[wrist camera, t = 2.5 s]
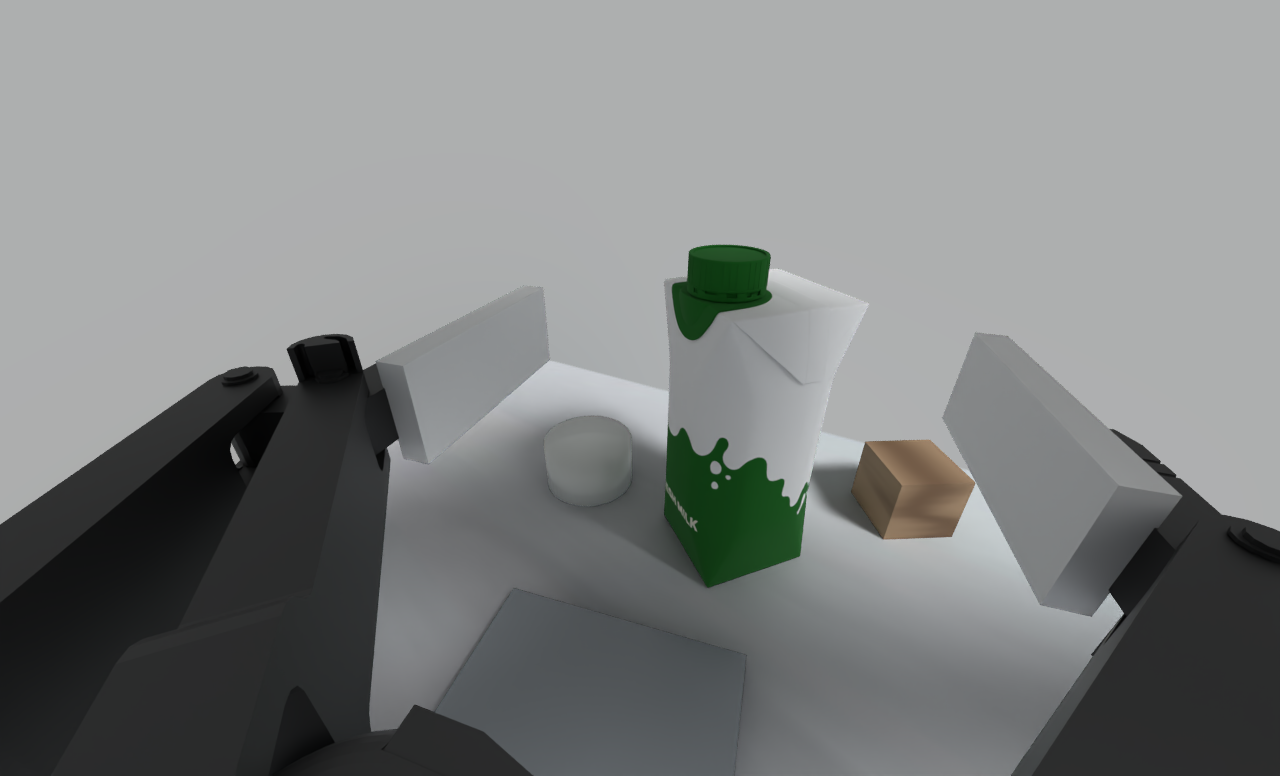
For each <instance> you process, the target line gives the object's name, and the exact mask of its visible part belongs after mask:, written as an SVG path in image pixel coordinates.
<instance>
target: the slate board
mask: <svg viewBox="0 0 1280 776" xmlns="http://www.w3.org/2000/svg"><path fill="white" fill-rule="evenodd" d="M746 657H747V655H745V654H742V653H738V652H735V651H731V650H728V649H724V648H721V647H717V646H714V645H710V644H707V643H703V642H700V641H696V640H693V639H689V638H686V637H683V636H679V635H676V634H672V633H669V632H665V631H662V630H658V629H655V628H651V627H648V626H644V625H641V624H637V623H634V622H630V621H627V620H623V619H620V618H616V617H613V616H609V615H606V614H603V613H599V612H596V611H592V610H589V609H585V608H582V607H578V606H575V605H571V604H568V603H564V602H561V601H557V600H554V599H550V598H547V597H543V596H540V595H536V594H533V593H529V592H526V591H523V590H519V589H516V588H514V589H513V590H512V592H511V593H510V595H509V596H508V598H507V600H506V601H505V603H504V604H503V606H502V607H501V609H500V611H499V612H498V614H497V615H496V617H495V618H494V620H493V621H492V623H491V625H490V626H489V628H488V629H487V631H486V632H485V634H484V636H483V637H482V639H481V640H480V642H479V643H478V645H477V647H476V648H475V650H474V651H473V653H472V654H471V656H470V657H469V659H468V661H467V662H466V664H465V665H464V667H463V668H462V670H461V672H460V673H459V675H458V676H457V678H456V679H455V681H454V683H453V684H452V686H451V687H450V689H449V690H448V692H447V693H446V695H445V697H444V698H443V700H442V701H441V703H440V704H439V706H438V708H437V709H436V711H435V713H438V714H440V715H443V716H445V717H448V718H450V719H453V720H456V721H458V722H461V723H463V724H466V725H468V726H471V727H473V728H476V729H478V730H481V731H483V732H485V733H486V734H487V735H488V736H489V737H490V738H491V739H493V740H494V741H495V742H496V743H497V744H498V745H499V746H500V747H502V748H503V749H504V750H505V751H506V752H507V753H508V754H509V755H511V756H512V757H513V758H514V759H515V760H516V761H517V762H518V763H520V764H521V765H522V766H523V767H524V768H525V769H526V770H527V771H529V772H530V773H531V774H532V775H533V776H734V773H735V764H736V754H737V744H738V734H739V725H740V715H741V705H742V696H743V686H744V676H745V666H746Z"/></svg>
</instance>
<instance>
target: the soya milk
mask: <svg viewBox="0 0 1280 776" xmlns="http://www.w3.org/2000/svg"><path fill="white" fill-rule="evenodd" d="M770 259H771V257H770V254H769V253H768V252H767V251H765V250H761V249H758V248H754V247H748V246H738V245H708V246H701V247H696V248H693V249H691V250H690V251H689V261H688V276H687V277H678V278H671V279H666V280H665V281H664V286H665V299H666V310H667V324H668V337H669V351H670V378H669V408H668V437H667V465H666V486H665V507H664V515H665V516H666V518H667V520H668V522H669V523H670V525H671V527H672V528H673V530H674V532H675V533H676V535H677V537H678V539H679V540H680V542H681V544H682V545H683V547H684V549H685V550H686V552H687V554H688V556H689V557H690V559H691V561H692V562H693V564H694V566H695V567H696V569H697V571H698V573H699V574H700V576H701V578H702V579H703V581H704V583H705V585H706V586H707V588H709V587H712V586H714V585H717V584H720V583H723V582H726V581H729V580H732V579H735V578H738V577H741V576H744V575H747V574H750V573H753V572H755V571H758V570H761V569H764V568H767V567H770V566H773V565H776V564H779V563H782V562H785V561H788V560H791V559H793V558H796V557H799V556H800V551H801V542H802V533H803V524H804V516H805V507H806V498H807V491H808V487H809V482H810V478H811V473H812V469H813V464H814V460H815V456H816V451H817V447H818V442H819V438H820V434H821V429H822V425H823V421H824V416H825V411H826V407H827V403H828V399H829V394H830V390H831V386H832V382H833V378H834V376H835V373H836V371H837V369H838V366H839V364H840V362H841V360H842V358H843V356H844V354H845V352H846V350H847V348H848V346H849V344H850V342H851V340H852V338H853V336H854V334H855V332H856V330H857V328H858V326H859V324H860V322H861V320H862V318H863V316H864V313H865V311H866V310H867V307H868V306H869V303H867V302H865V301H862V300H859V299H857V298H854V297H851V296H849V295H846V294H844V293H841V292H838V291H836V290H833V289H830V288H828V287H825V286H823V285H820V284H817V283H815V282H812V281H809V280H807V279H804V278H802V277H799V276H797V275H794V274H791V273H789V272H786V271H783V270H781V269H769V266H770Z"/></svg>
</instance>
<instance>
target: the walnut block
mask: <svg viewBox="0 0 1280 776" xmlns="http://www.w3.org/2000/svg"><path fill="white" fill-rule="evenodd" d="M974 485H975V482H974V481H973V480H972V479H971V478H970V477H969V476H968V475H967V474H966V473H965V472H963V471H962V470H961V469H960V468H959V467H958V466H957V465H956V464H955V463H954V462H953V461H952V460H951V459H950V458H949V457H947V455H945V454H944V453H943V452H942V451H941V450H940V449H939V448H938V447H937V446H936V445H935V444H934V443H933V442H931V440H902V441H870V442H865V445H864V448H863V452H862V455H861V459H860V462H859V466H858V469H857V473H856V476H855V480H854V483H853V487H852V490H851V492H852V494H853V495H854V497H855V498H856V500H857V501H858V503H859V504H860V506H861V507H862V509H863V510H864V512H865V513H866V515H867V516H868V518H869V519H870V521H871V522H872V524H873V525H874V526H875V528H876V529H877V531H878V532H879V534H880V535H881V537H882V538H883V539H908V538H934V537H952V535H953V532H954V530H955V528H956V526H957V523H958V521H959V519H960V517H961V515H962V512H963V510H964V508H965V506H966V503H967V501H968V499H969V497H970V494H971V492H972V490H973V488H974Z"/></svg>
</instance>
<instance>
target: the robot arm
mask: <svg viewBox="0 0 1280 776" xmlns="http://www.w3.org/2000/svg"><path fill="white" fill-rule="evenodd" d="M545 313H546V312H545V301H544V290H543V288H542V287H533V286H522V287H520V288H518V289H516V290H514V291H512V292H510V293H508V294H506V295H504V296H502V297H500V298H498V299H496V300H494V301H492V302H490V303H488V304H487V305H485V306H483V307H481V308H479V309H477V310H475V311H473V312H471V313H469V314H467V315H465V316H463V317H461V318H459V319H457V320H456V321H453V322H451V323H449V324H447V325H445V326H444V327H442V328H440V329H438V330H436V331H434V332H432V333H430V334H428V335H426V336H424V337H422V338H420V339H418V340H416V341H414V342H412V343H410V344H408V345H407V346H405V347H402V348H401V349H399V350H397V351H395V352H393V353H391V354H389V355H387V356H385V357H383V358H381V359H379V360H377V361H376V364H374V365H372V366H370V367H368V368H366V369H365V370H363V369H362V366H361V363H360V360H359V356H358V353H357V350H356V346H355V343H354V340H353V337H351V336H348V335H342V334H331V335H321V336H315V337H311V338H307V339H304V340H301V341H298V342H296V343H294V344H292V345H291V346H290V347H288V348H287V351H288V354H289V356H290V359H291V362H292V364H293V367H294V369H295V372H296V375H297V377H298V380H299V383H298V385H297V386H280V384H279V381H278V379H277V376H276V374H275V372H274V370H273V369H272V368H269V367H239V368H235V369H231V370H229V371H227V372H226V373H224V374H221V375H218V376H216V377H214V378H212V379H210V380H209V381H207V382H206V383H204V384H203V385H201V386H200V387H198V388H197V389H196V390H194V391H193V392H191V393H190V394H188V395H187V396H186V397H184V398H183V399H181V400H180V401H178V402H177V403H175V404H174V405H173V406H171V407H170V408H168V409H167V410H165V411H164V412H162V413H161V414H159V415H158V416H157V417H155V418H154V419H152V420H151V421H149V422H148V423H146V424H145V425H144V426H142V427H141V428H139V429H138V430H136V431H135V432H134V433H132V434H131V435H129V436H128V437H126V438H125V439H123V440H122V441H121V442H119V443H118V444H116V445H115V446H113V447H112V448H110V449H109V450H107V451H106V452H104V453H103V454H102V455H100V456H99V457H97V458H96V459H95V460H93V461H92V462H90V463H89V464H87V465H86V466H84V467H83V468H81V469H80V470H79V471H77V472H76V473H74V474H73V475H71V476H70V477H68V478H67V479H65V480H64V481H63V482H61V483H60V484H58V485H57V486H55V487H54V488H52V489H51V490H50V491H48V492H47V493H45V494H44V495H43V496H41V497H39V498H38V499H37V500H35V501H34V502H32V503H31V504H29V505H28V506H27V507H25V508H24V509H22V510H21V511H19V512H18V513H16V514H15V515H13V516H12V517H11V518H9V519H8V520H6V521H5V522H3V523H2V524H1V525H0V776H533V775H532V774H531V773H530V772H529V771H527V770H526V769H525V768H524V767H523V766H522V765H521V764H520V763H518V762H517V761H516V760H515V759H514V758H513V757H512V756H511V755H509V754H508V753H507V752H506V751H505V750H504V749H503V748H502V747H500V746H499V745H498V744H497V743H496V742H495V741H494V740H493V739H491V738H490V737H489V736H488V735H487V734H486V733H485V732H483V731H481V730H478V729H476V728H473V727H471V726H468V725H466V724H463V723H461V722H458V721H456V720H453V719H450V718H448V717H445V716H443V715H440V714H438V713H435V712H433V711H430V710H428V709H425V708H422V707H420V706H417V705H414V706H413V707H412V709H411V710H410V712H409V713H408V715H407V716H406V718H405V719H404V721H403V722H402V724H401V725H400V726H399V728H398V729H393V730H384V731H375V732H371V728H370V719H369V702H370V690H371V679H372V667H373V656H374V644H375V633H376V621H377V610H378V598H379V587H380V575H381V564H382V552H383V541H384V529H385V518H386V506H387V495H388V483H389V472H390V457H389V453H388V450H387V447H388V446H389V445H391V444H392V443H393V442H395V441H396V440H397V439H398V440H399V444H400V447H401V451H402V454H403V458H404V459H408V460H412V461H416V462H421V463H425V464H430V463H431V462H432V461H433V460H434V459H435V458H437V457H438V456H439V455H440V454H441V453H442V452H444V451H445V450H446V449H447V448H448V447H449V446H451V445H452V444H453V443H454V442H455V441H456V440H457V439H459V438H460V437H461V436H462V435H463V434H464V433H466V432H467V431H468V430H469V429H470V428H471V427H473V426H474V425H475V424H476V423H477V422H478V421H479V420H481V419H482V418H483V417H484V416H485V415H486V414H488V413H489V412H490V411H491V410H492V409H493V408H495V407H496V406H497V405H498V404H499V403H500V402H501V401H503V400H504V399H505V398H506V397H507V396H508V395H510V394H511V393H512V392H513V391H514V390H515V389H517V388H518V387H519V386H520V385H521V384H522V383H523V382H525V381H526V380H527V379H528V378H529V377H530V376H532V375H533V374H534V373H535V372H536V371H537V370H539V369H540V368H541V367H542V366H543V365H544V364H545V363H547V362H548V361H549V360H550V357H549V347H548V335H547V323H546V314H545ZM942 418H943V420H944V422H945V424H946V426H947V428H948V430H949V431H950V434H951V436H952V438H953V439H954V441H955V443H956V445H957V447H958V449H959V451H960V453H961V455H962V457H963V458H964V460H965V462H966V464H967V466H968V468H969V470H970V472H971V474H972V476H973V478H974V480H975V481H976V483H977V485H978V487H979V489H980V491H981V493H982V495H983V497H984V499H985V500H986V502H987V504H988V506H989V508H990V510H991V512H992V514H993V516H994V518H995V520H996V521H997V523H998V525H999V527H1000V529H1001V531H1002V533H1003V535H1004V537H1005V539H1006V541H1007V542H1008V544H1009V546H1010V548H1011V550H1012V552H1013V554H1014V556H1015V558H1016V560H1017V562H1018V563H1019V565H1020V567H1021V569H1022V571H1023V573H1024V575H1025V577H1026V579H1027V581H1028V582H1029V584H1030V586H1031V588H1032V590H1033V592H1034V594H1035V596H1036V598H1037V600H1038V602H1039V603H1040V605H1043V606H1047V607H1052V608H1056V609H1060V610H1065V611H1069V612H1073V613H1078V614H1082V615H1086V616H1091V617H1092V616H1093V614H1094V613H1095V612H1096V610H1097V609H1098V608H1099V606H1100V605H1101V604H1102V602H1103V601H1104V600H1105V598H1106V597H1107V596H1108V594H1109V593H1111V595H1112V596H1113V598H1114V599H1115V601H1116V602H1117V603H1118V605H1119V606H1120V608H1121V609H1122V611H1123V612H1124V614H1123V616H1122V617H1121V618H1120V619H1119V621H1118V622H1117V623H1116V624H1115V626H1114V627H1113V628H1112V629H1111V631H1110V632H1109V633H1108V634H1107V636H1106V637H1105V638H1104V639H1103V641H1102V642H1101V643H1100V644H1099V646H1098V647H1097V648H1096V649H1095V650H1094V652H1093V653H1092V654H1091V655H1092V656H1093V657H1092V659H1091V660H1090V662H1089V663H1088V664H1087V666H1086V667H1085V669H1084V670H1083V672H1082V673H1081V675H1080V676H1079V677H1078V679H1077V680H1076V682H1075V683H1074V685H1073V686H1072V688H1071V689H1070V691H1069V692H1068V693H1067V695H1066V696H1065V698H1064V699H1063V701H1062V702H1061V704H1060V705H1059V706H1058V708H1057V709H1056V711H1055V712H1054V714H1053V715H1052V717H1051V718H1050V720H1049V721H1048V722H1047V724H1046V725H1045V727H1044V728H1043V730H1042V731H1041V733H1040V734H1039V735H1038V737H1037V738H1036V740H1035V741H1034V743H1033V744H1032V746H1031V747H1030V749H1029V750H1028V751H1027V753H1026V754H1025V756H1024V757H1023V759H1022V760H1021V762H1020V763H1019V764H1018V766H1017V767H1016V769H1015V770H1014V772H1013V773H1012V775H1011V776H1280V531H1277V530H1275V529H1272V528H1270V527H1267V526H1264V525H1261V524H1258V523H1255V522H1252V521H1249V520H1245V519H1241V518H1236V517H1231V516H1227V515H1221V514H1220V513H1219V512H1218V511H1217V510H1216V509H1215V508H1213V507H1212V506H1211V505H1210V504H1209V503H1208V502H1207V501H1205V500H1204V499H1203V498H1202V497H1201V496H1200V495H1199V494H1197V493H1196V492H1195V491H1194V490H1193V489H1192V488H1191V487H1189V486H1188V485H1187V484H1186V483H1185V482H1184V481H1183V480H1181V479H1180V478H1176V474H1175V473H1173V472H1172V471H1171V470H1170V469H1169V468H1168V467H1166V466H1165V465H1164V464H1160V462H1161V461H1160V460H1159V459H1157V458H1156V457H1155V456H1154V455H1153V454H1152V453H1151V452H1149V451H1148V450H1147V449H1146V448H1145V447H1144V446H1143V445H1141V444H1139V443H1137V442H1136V441H1134V440H1132V439H1130V438H1129V437H1127V436H1125V435H1123V434H1121V433H1120V432H1118V431H1116V430H1113V429H1109V428H1107V427H1106V426H1105V425H1104V424H1103V423H1102V422H1101V421H1100V420H1099V419H1097V417H1095V416H1094V415H1093V414H1092V413H1091V412H1090V411H1089V410H1088V409H1087V408H1086V407H1085V406H1083V405H1082V404H1081V403H1080V402H1079V401H1078V400H1077V399H1076V398H1075V397H1074V396H1073V395H1071V394H1070V393H1069V392H1068V391H1067V390H1066V389H1065V388H1064V387H1063V386H1062V385H1061V384H1059V383H1058V382H1057V381H1056V380H1055V379H1054V378H1053V377H1052V376H1051V375H1050V374H1048V373H1047V372H1046V371H1045V370H1044V369H1043V368H1042V367H1041V366H1040V365H1039V364H1037V362H1035V361H1034V360H1033V359H1032V358H1031V357H1030V356H1029V355H1028V354H1027V353H1026V352H1025V351H1023V350H1022V349H1021V348H1020V347H1019V346H1018V345H1017V344H1016V343H1015V342H1014V341H1013V340H1011V339H1010V338H1009V337H1008V336H1003V335H993V334H984V333H975V334H974V337H973V340H972V342H971V345H970V348H969V350H968V353H967V355H966V358H965V361H964V363H963V366H962V368H961V371H960V373H959V376H958V379H957V381H956V384H955V386H954V389H953V392H952V394H951V397H950V399H949V402H948V405H947V407H946V410H945V412H944V415H943V417H942ZM231 443H232V445H233V447H234V449H235V451H236V453H237V455H238V457H239V458H240V461H239V462H238V463H237V464H236V465H235V464H234V461H233V459H232V456H231V453H230V447H231Z"/></svg>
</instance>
